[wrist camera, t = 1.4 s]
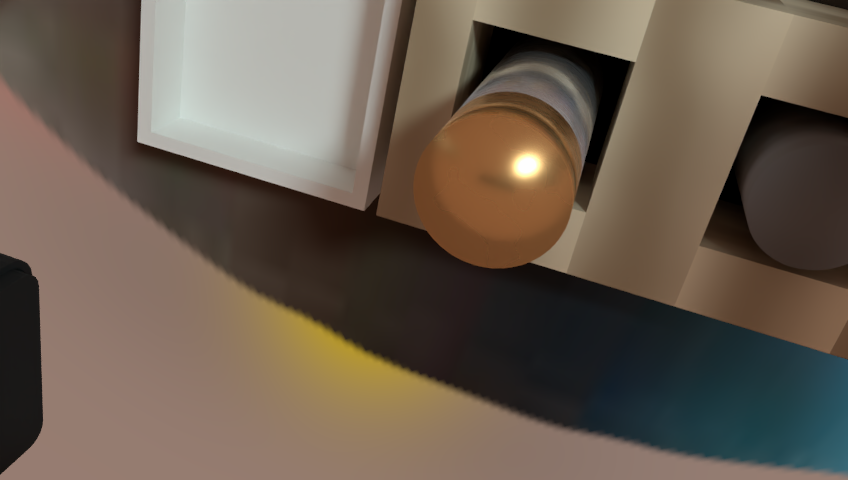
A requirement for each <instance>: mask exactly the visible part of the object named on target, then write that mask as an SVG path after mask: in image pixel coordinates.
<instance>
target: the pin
mask: <svg viewBox="0 0 848 480" xmlns="http://www.w3.org/2000/svg"><path fill="white" fill-rule="evenodd" d="M603 87H604V76H603V70H602V67H601V64H600V62H599V59H598V57H597V56H596V54H595V53H594V51H590V50H586V49H582V48H579V47H575V46H571V45H567V44H563V43H559V42H556V41H552V40H548V39H544V38H540V37H537V36H533V35H528V36H526V37H524V38H523V39H521V40H520V41H518V42H517V43H516V44H515V45H514V46H513V47H512V48H511V49H510V50H509V51H508V53H507V54H506V55H505V56H504V57H503V58H502V59H501V61H500V62H499V63H498V64H497V65H496V66H495V68H494V69H493V70H492V71H491V72H490V73H489V75H488V76H487V77H486V78H485V79H484V80H483V82H482V83H481V84H480V85H479V86H478V87H477V88H476V90H475V91H474V92H473V93H472V94H471V95H470V97H469V98H468V99H467V100H466V101H465V102H464V104H463V105H462V106H461V107H460V108H459V109H458V111H457V112H456V113H455V114H454V115H453V116H452V117H451V119H450V120H449V121H448V122H447V123H446V124H445V126H444V127H443V128H442V129H441V130H440V131H439V133H438V134H437V135H436V136H435V137H434V138H433V140H432V141H431V142H430V143H429V144H428V145H427V147H426V148H425V150H424V151H423V153H422V155H421V157H420V159H419V161H418V163H417V167H416V170H415V174H414V182H413V194H414V201H415V205H416V209H417V212H418V215H419V217H420V220H421V222H422V223H423V225H424V227H425V229H426V230H427V232H428V233H429V234H430V236H431V237H432V238H433V239H434V240H435V241H436V242H437V243H438V245H440V246H441V247H442V248H443V249H444V250H446V251H447V252H448V253H450V254H451V255H453V256H454V257H456V258H458V259H460V260H462V261H464V262H467V263H470V264H472V265H476V266H480V267H486V268H511V267H516V266H520V265H523V264H526V263H529V262H531V261H533V260H535V259H537V258H539V257H540V256H542V255H543V254H545V253H546V252H547V251H549V250H550V249H551V248H552V247H553V246H554V245H555V244H556V242H557V241H558V240H559V239H560V237H561V236H562V234H563V232H564V231H565V229H566V227H567V224H568V222H569V219H570V215H571V212H572V208H573V204H574V200H575V196H576V193H577V189H578V185H579V181H580V177H581V174H582V170H583V166H584V162H585V158H586V154H587V151H588V147H589V143H590V139H591V135H592V132H593V128H594V124H595V120H596V116H597V113H598V109H599V105H600V101H601V97H602V93H603Z"/></svg>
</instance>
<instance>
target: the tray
mask: <svg viewBox="0 0 848 480" xmlns="http://www.w3.org/2000/svg"><path fill="white" fill-rule="evenodd" d="M416 1H417V0H141V31H140V65H139V99H138V134H137V142H140V143H143V144H146V145H149V146H153V147H156V148H159V149H162V150H166V151H169V152H172V153H176V154H179V155H182V156H185V157H189V158H192V159H195V160H198V161H202V162H205V163H208V164H212V165H215V166H218V167H221V168H225V169H228V170H231V171H234V172H238V173H241V174H244V175H248V176H251V177H254V178H257V179H261V180H264V181H267V182H270V183H274V184H277V185H280V186H284V187H287V188H290V189H293V190H297V191H300V192H303V193H306V194H310V195H313V196H316V197H320V198H323V199H326V200H329V201H333V202H336V203H339V204H342V205H346V206H349V207H352V208H356V209H359V210H362V211H365V210H366V208H367V207H368V206H369V205H370V204H371V203H372V202H373V200H374V199H375V198H376V197H377V196H378V195H379V194H380V192H381V187H382V181H383V176H384V171H385V165H386V160H387V155H388V150H389V144H390V139H391V134H392V128H393V123H394V118H395V113H396V107H397V102H398V97H399V91H400V86H401V81H402V75H403V70H404V65H405V60H406V54H407V49H408V44H409V38H410V33H411V28H412V23H413V17H414V12H415V7H416Z"/></svg>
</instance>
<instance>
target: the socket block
mask: <svg viewBox="0 0 848 480" xmlns="http://www.w3.org/2000/svg"><path fill="white" fill-rule="evenodd" d="M494 26H498V27H502V28H506V29H510V30H514V31H517V32H521V33H525V34H529V35H533V36H537V37H540V38H544V39H548V40H552V41H556V42H559V43H563V44H567V45H571V46H575V47H579V48H582V49H586V50H590V51H594V52H598V53H602V54H605V55H609V56H613V57H617V58H621V59H625V60H628V61H630V63H629V67H628V70H627V73H626V76H625V79H624V82H623V85H622V88H621V91H620V94H619V97H618V100H617V104H616V107H615V110H614V113H613V116H612V119H611V122H610V125H609V128H608V131H607V134H606V137H605V141H604V144H603V147H602V150H601V153H600V156H599V159H598V162H597V165H596V164H592V163H589V162H584V166H583V170H582V174H581V177H580V181H579V185H578V189H577V193H576V196H575V200H574V204H573V208H572V212H571V215H570V219H569V222H568V224H567V227H566V229H565V231H564V232H563V234H562V236H561V237H560V239H559V240H558V241H557V242H556V244H555V245H554V246H553V247H552V248H551V249H550V250H549V251H547V252H546V253H545V254H543V255H542V256H540V257H539V258H537V259H535V260H533V261H531V263H534V264H537V265H540V266H544V267H547V268H550V269H554V270H557V271H560V272H563V273H567V274H570V275H573V276H576V277H580V278H583V279H586V280H590V281H593V282H596V283H599V284H603V285H606V286H609V287H612V288H616V289H619V290H622V291H626V292H629V293H632V294H635V295H639V296H642V297H645V298H648V299H652V300H655V301H658V302H662V303H665V304H668V305H671V306H675V307H678V308H681V309H684V310H688V311H691V312H694V313H697V314H701V315H704V316H707V317H711V318H714V319H717V320H720V321H724V322H727V323H730V324H733V325H737V326H740V327H743V328H747V329H750V330H753V331H756V332H760V333H763V334H766V335H769V336H773V337H776V338H779V339H783V340H786V341H789V342H792V343H796V344H799V345H802V346H805V347H809V348H812V349H815V350H819V351H822V352H825V353H828V354H832V355H835V356H838V357H841V358H845V359H848V122H847V121H846V119H845V118H844V117H847V118H848V10H845V9H841V8H837V7H833V6H828V5H824V4H820V3H816V2H812V1H808V0H417V1H416V7H415V12H414V17H413V23H412V28H411V33H410V38H409V44H408V49H407V54H406V60H405V65H404V70H403V75H402V81H401V86H400V91H399V97H398V102H397V107H396V113H395V118H394V123H393V128H392V134H391V139H390V144H389V150H388V155H387V160H386V165H385V171H384V176H383V181H382V187H381V192H380V197H379V202H378V208H377V213H376V215H377V216H380V217H383V218H387V219H390V220H393V221H397V222H400V223H403V224H406V225H410V226H413V227H416V228H419V229H423V230H426V229H425V227H424V225H423V223H422V222H421V220H420V217H419V215H418V212H417V209H416V205H415V201H414V194H413V182H414V174H415V170H416V167H417V163H418V161H419V159H420V157H421V155H422V153H423V151H424V150H425V148H426V147H427V145H428V144H429V143H430V142H431V141H432V140H433V138H434V137H435V136H436V135H437V134H438V133H439V131H440V130H441V129H442V128H443V127H444V126H445V124H446V123H447V122H448V121H449V120H450V119H451V117H452V116H453V115H454V114H455V113H456V112H457V111H458V109H459V108H460V107H461V106H462V105H463V104H464V102H465V101H466V100H467V99H468V98H469V97H470V95H471V94H472V93H473V92H474V91H475V90H476V88H477V87H478V86H479V85H480V84H481V80H482V75H483V71H484V67H485V63H486V59H487V54H488V50H489V46H490V42H491V38H492V33H493V29H494ZM761 95H762V96H766V97H770V98H772V99H770V100H768V101H765V102H764V103H762V104H760V105H758V106H757V104H758V102H759V99H760V97H761ZM756 106H757V107H756ZM732 165H733V167H734V171H735V175H736V179H737V183H738V187H739V191H740V195H741V199H742V203H743V206H740V205H737V204H733V203H730V202H726V201H723V200H719V196H720V194H721V192H722V189H723V187H724V184H725V182H726V179H727V177H728V175H729V172H730V170H731V167H732ZM426 231H427V230H426Z"/></svg>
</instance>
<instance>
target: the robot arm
mask: <svg viewBox="0 0 848 480" xmlns="http://www.w3.org/2000/svg"><path fill="white" fill-rule="evenodd" d="M41 377H42V374H41V341H40V310H39V285H38V280H37V279H36V277H34V276H32V272H31V268H30V267H29V265H28V264H27V263H25V262H23V261H22V260H19V259H15V258H12V257H10V256H7V255H4V254H1V253H0V474H1V473H2V472H4V471H5V470H6V469H7V468H8V467H9V466H10V465H11V464H12V463H13V462H15V461H16V460H17V459H18V458H19V457H20V456H21V455H22V454H23V453H24V452H25V451H27V450H28V449H29V448H30V447H31V446H32V445H33V444H34V442H35V441H36V439H37V437H38V436H39V434H40V431H41V428H42V424H43V409H42V408H43V407H42V378H41Z"/></svg>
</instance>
